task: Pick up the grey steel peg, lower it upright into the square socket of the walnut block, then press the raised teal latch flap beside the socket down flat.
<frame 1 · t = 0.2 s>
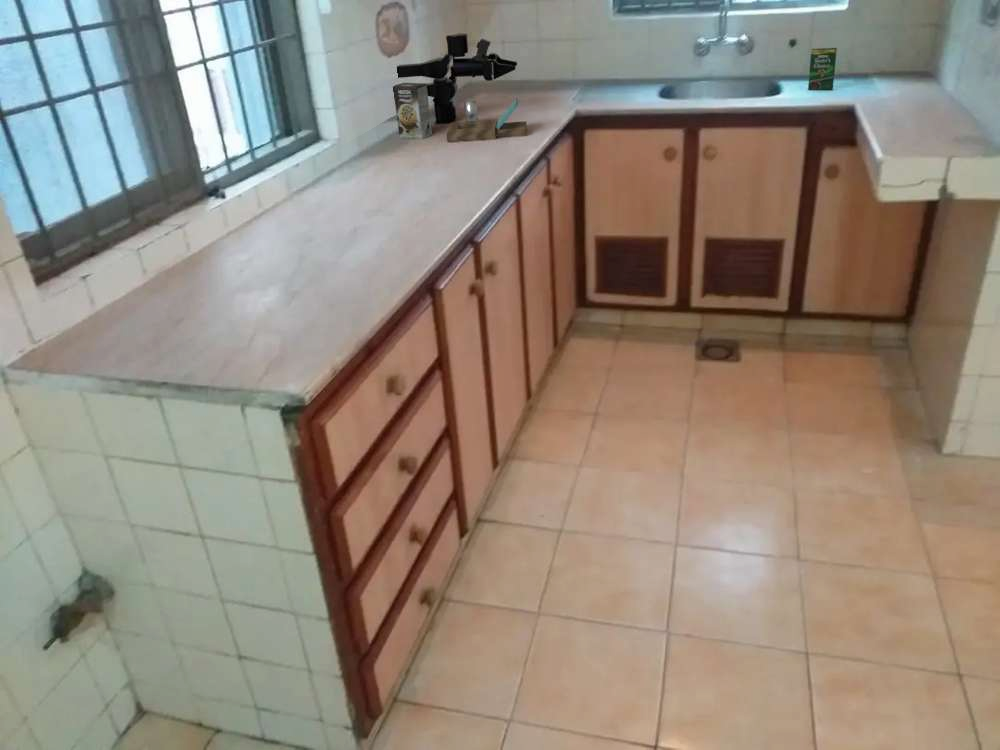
hand: (516, 65, 267), 16 cm above the countertop, tool horizontal, fingers open, 9 cm apart
peg: (472, 125, 269), on the countertop
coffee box: (416, 137, 263), on the countertop
socket block: (468, 135, 257), on the countertop
latch flap: (507, 113, 253), point 6 cm above the countertop, hinge at 45.0°
coffee box 2: (819, 90, 276), on the countertop
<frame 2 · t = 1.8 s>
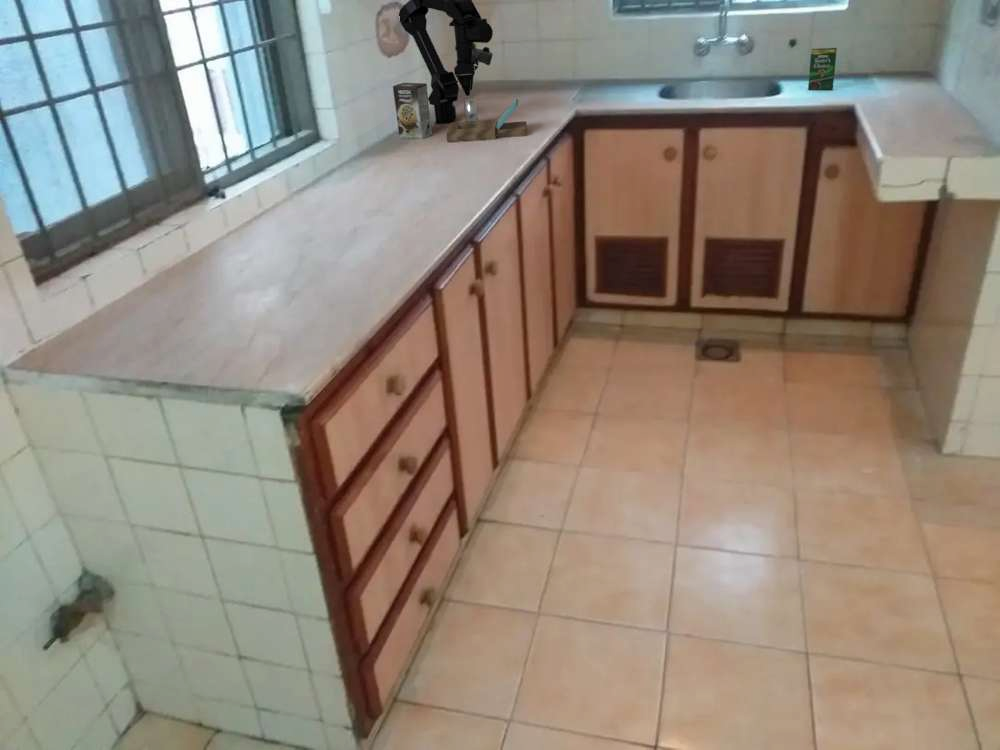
hand: (469, 92, 264), 10 cm above the countertop, tool pointing down, fingers open, 9 cm apart
nothing on the countertop moved.
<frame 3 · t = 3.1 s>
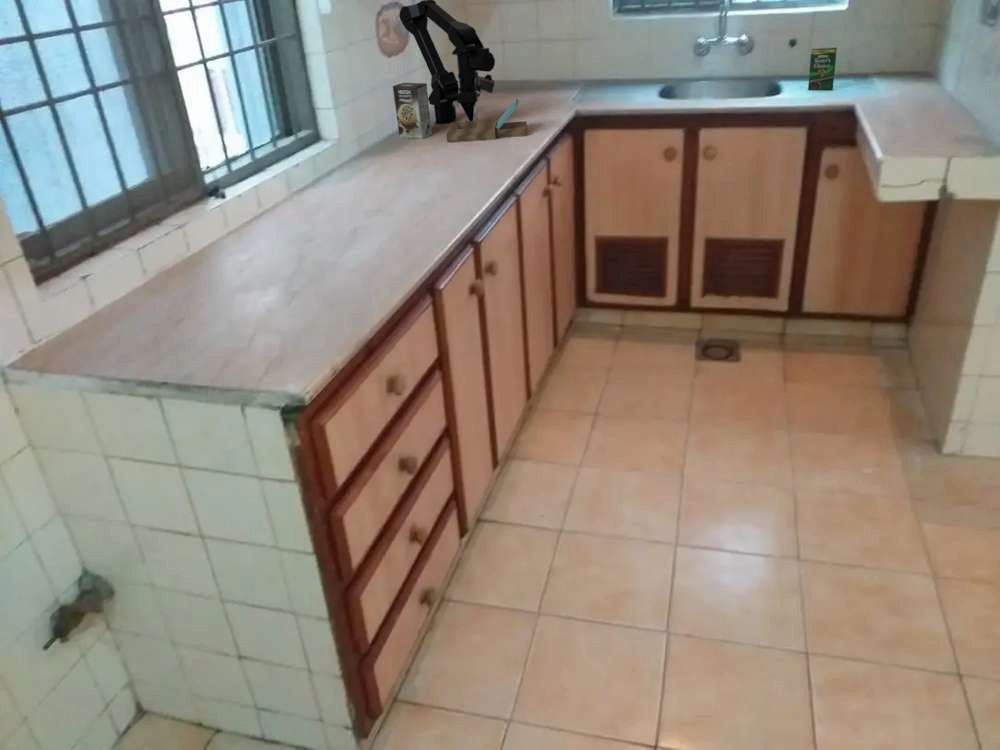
hand: (471, 119, 268), 2 cm above the countertop, tool pointing down, fingers closed on peg, 4 cm apart
peg: (472, 125, 269), on the countertop, touching gripper
everything else where it was.
when the fingers open (5 cm above the countertop, at t = 7.5 s): peg drops 3 cm, resting in socket block.
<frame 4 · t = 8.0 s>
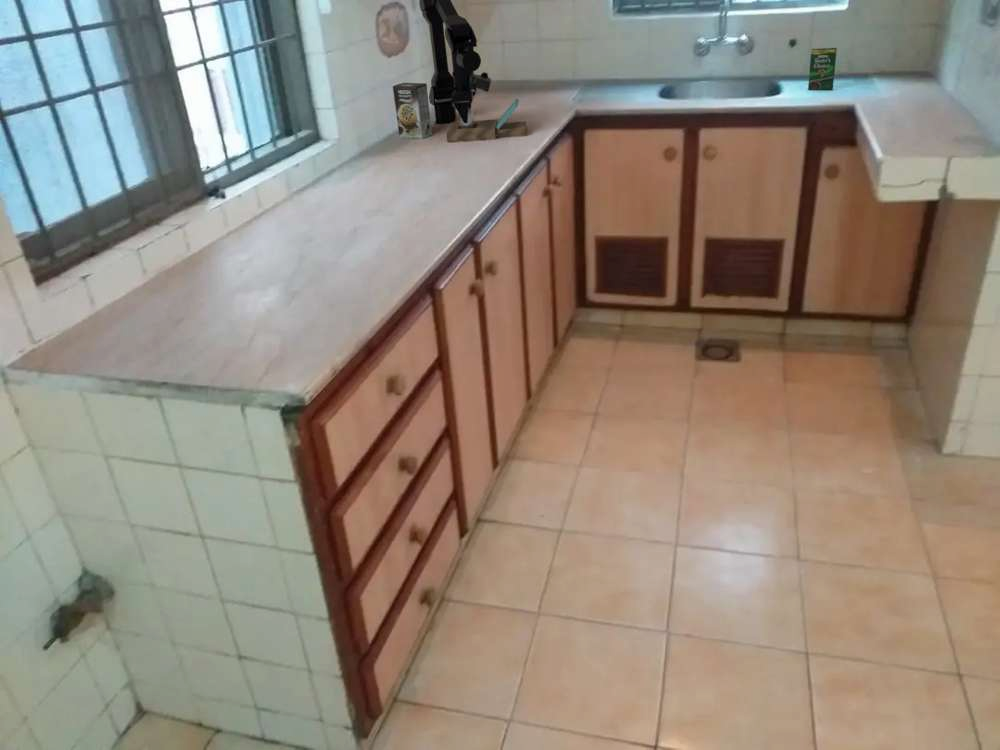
hand: (467, 119, 255), 5 cm above the countertop, tool pointing down, fingers open, 9 cm apart
peg: (468, 135, 257), resting in socket block
everything else where it was.
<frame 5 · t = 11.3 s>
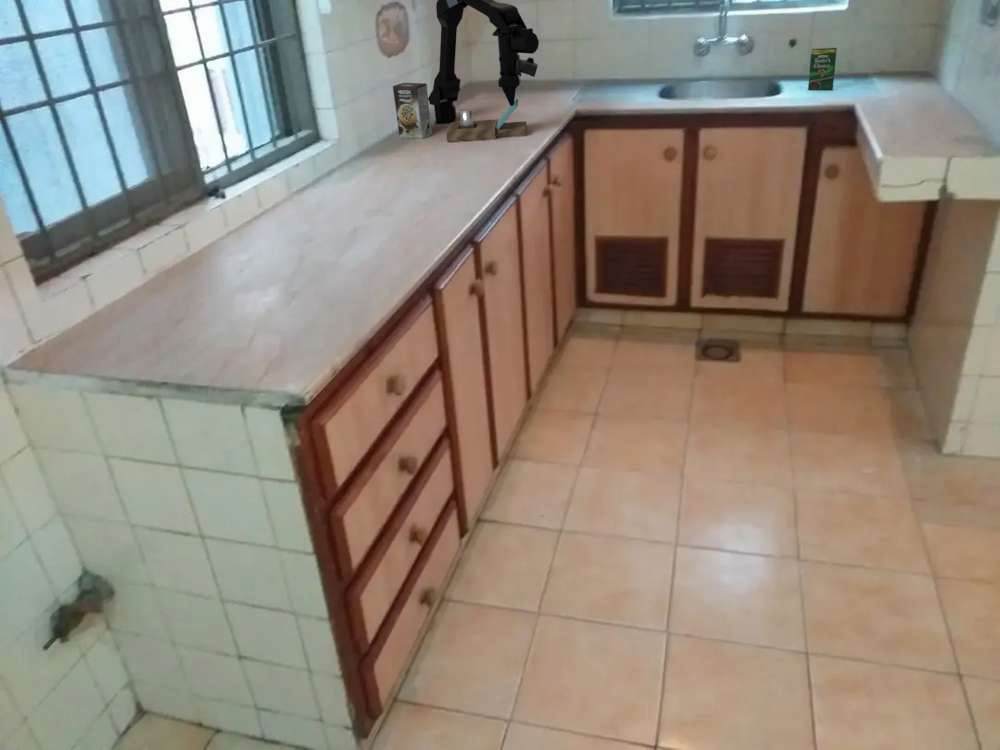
hand: (512, 105, 252), 8 cm above the countertop, tool pointing down, fingers closed, pressing on latch flap
latch flap: (507, 113, 253), point 6 cm above the countertop, hinge at 45.0°, touching gripper
everything else where it was.
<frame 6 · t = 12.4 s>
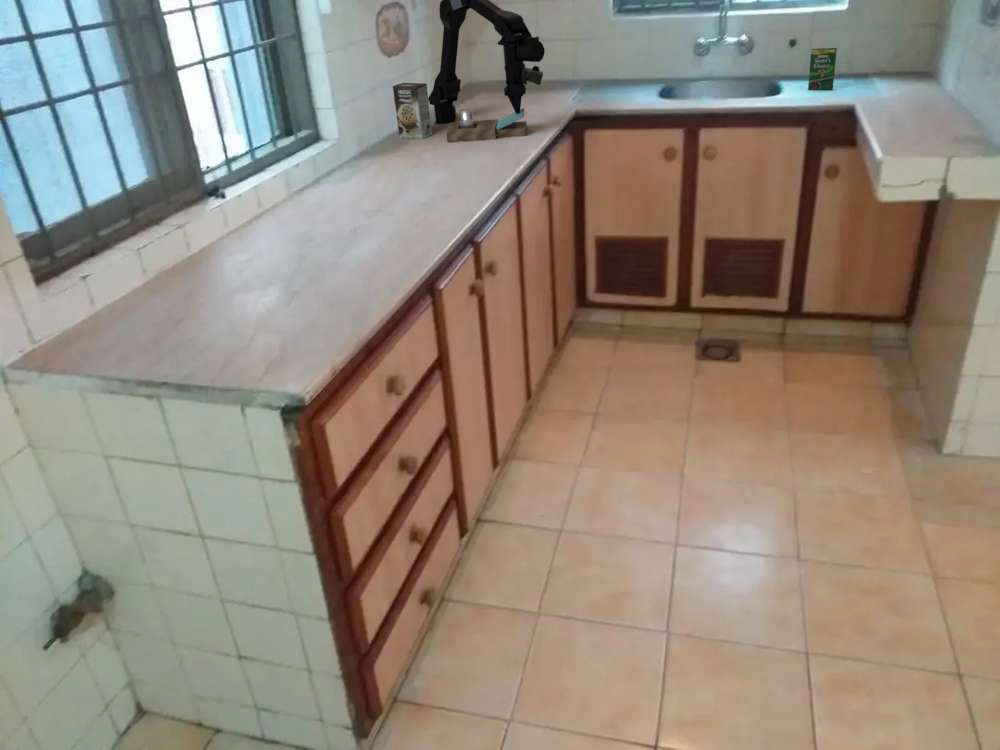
hand: (518, 113, 253), 6 cm above the countertop, tool pointing down, fingers closed, pressing on latch flap
latch flap: (510, 118, 254), point 4 cm above the countertop, hinge at 22.1°, touching gripper
everything else where it was.
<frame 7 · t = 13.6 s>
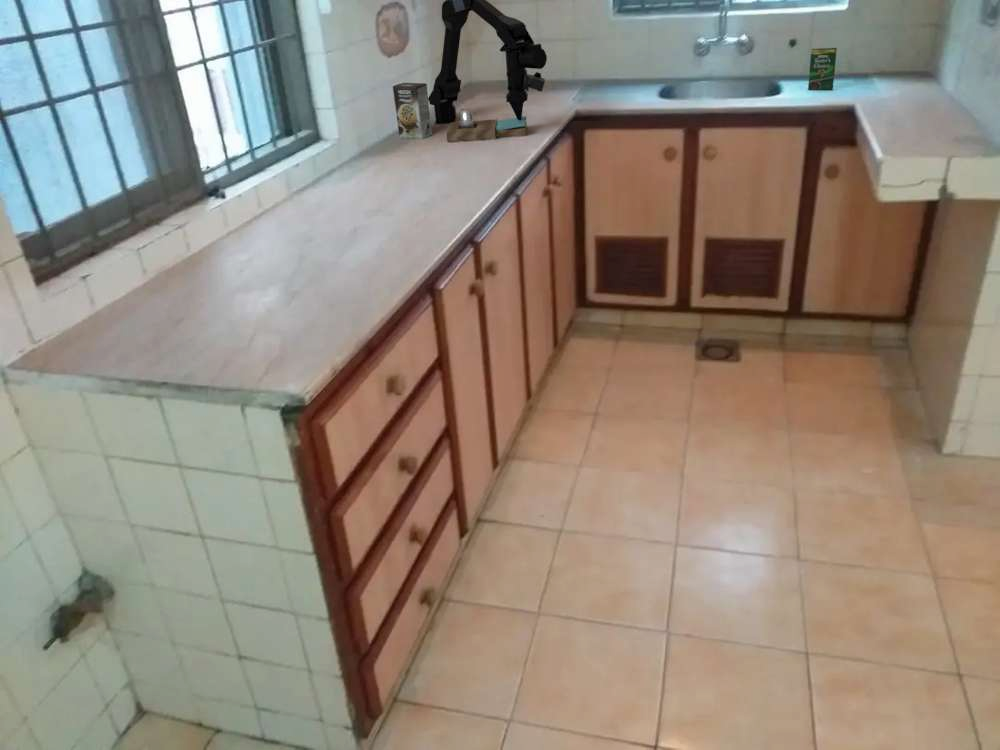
hand: (519, 119, 254), 4 cm above the countertop, tool pointing down, fingers closed
latch flap: (511, 123, 255), point 3 cm above the countertop, hinge at 5.2°
everything else where it was.
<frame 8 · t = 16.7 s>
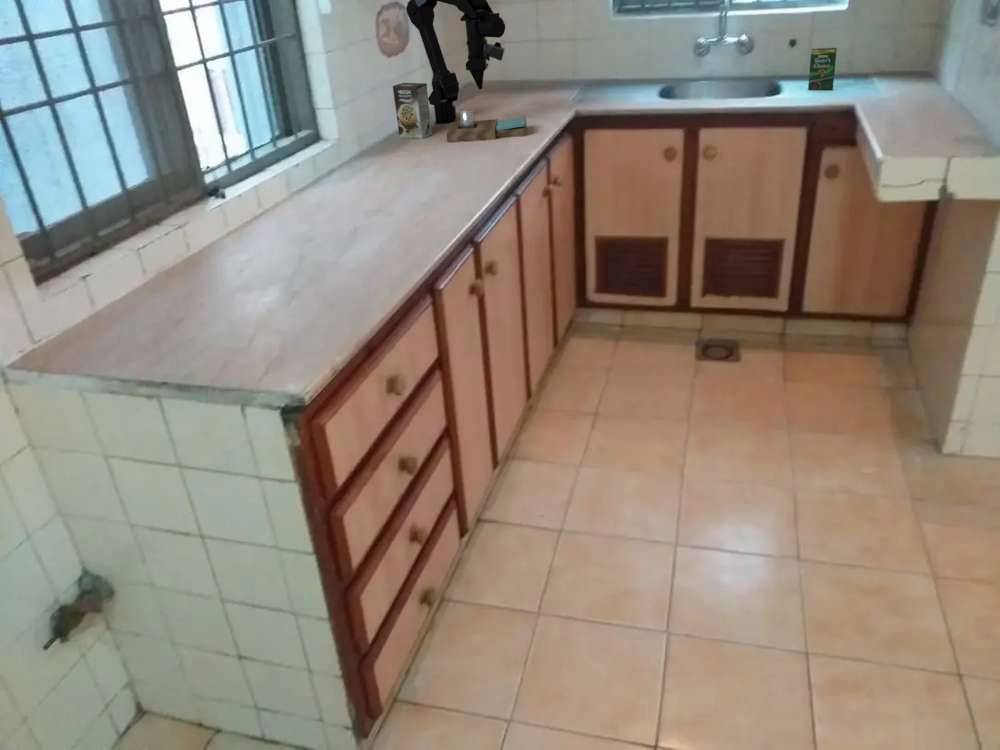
hand: (480, 88, 260), 12 cm above the countertop, tool pointing down, fingers closed
nothing on the countertop moved.
at the end: peg 0.1 cm off-centre on the socket block, point 0.0 cm above the socket block's base; peg tilted 0°; latch flap at +5° (first picture: +45°) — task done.
